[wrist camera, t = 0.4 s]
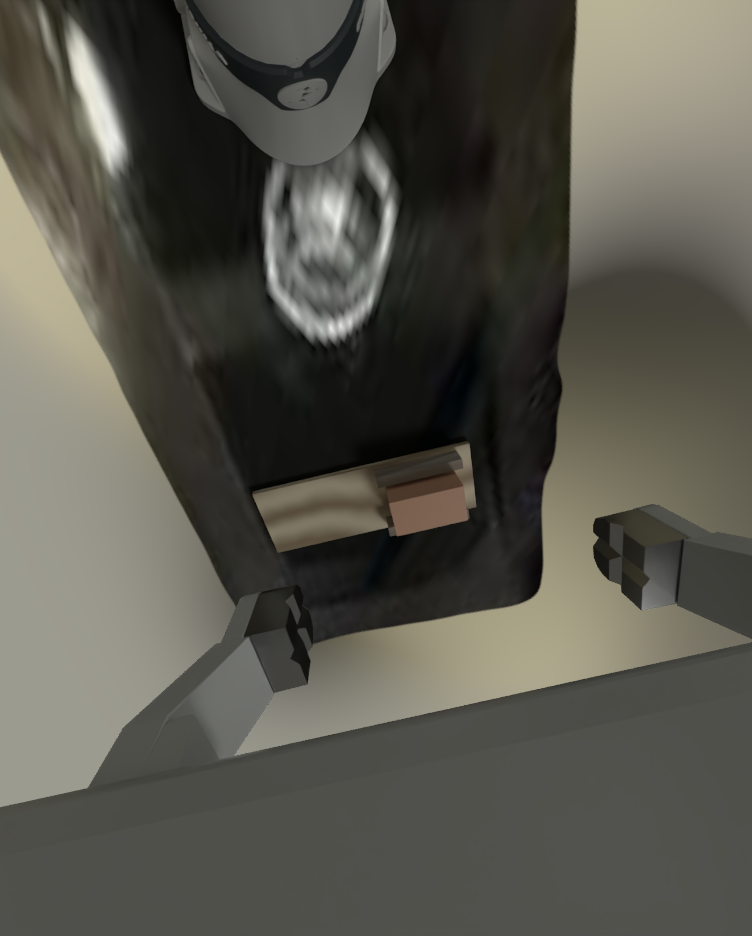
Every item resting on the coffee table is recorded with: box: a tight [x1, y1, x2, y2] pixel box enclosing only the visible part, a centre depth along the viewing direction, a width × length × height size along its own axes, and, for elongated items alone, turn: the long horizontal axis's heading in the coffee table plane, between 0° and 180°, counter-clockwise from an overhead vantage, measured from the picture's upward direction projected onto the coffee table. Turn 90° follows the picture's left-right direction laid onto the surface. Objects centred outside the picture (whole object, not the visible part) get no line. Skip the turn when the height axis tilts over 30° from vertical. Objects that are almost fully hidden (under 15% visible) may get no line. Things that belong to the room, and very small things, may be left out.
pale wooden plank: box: [252, 441, 476, 552], centre depth 53 cm, size 11×32×4 cm, turn 103°
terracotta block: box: [386, 471, 468, 536], centre depth 50 cm, size 6×10×6 cm, turn 103°
